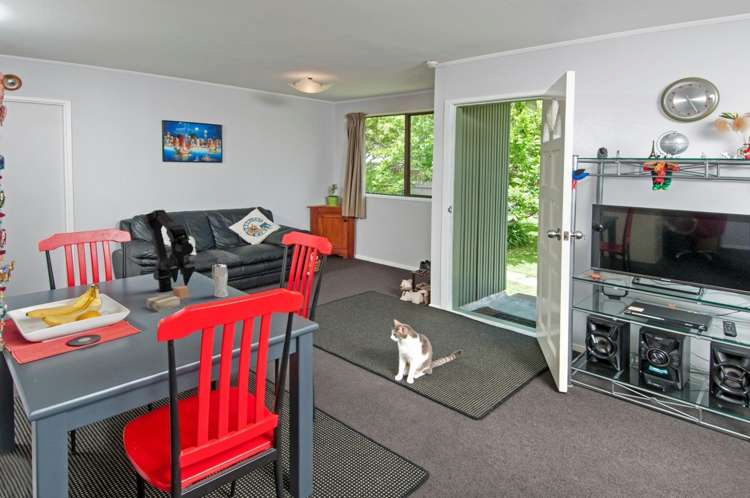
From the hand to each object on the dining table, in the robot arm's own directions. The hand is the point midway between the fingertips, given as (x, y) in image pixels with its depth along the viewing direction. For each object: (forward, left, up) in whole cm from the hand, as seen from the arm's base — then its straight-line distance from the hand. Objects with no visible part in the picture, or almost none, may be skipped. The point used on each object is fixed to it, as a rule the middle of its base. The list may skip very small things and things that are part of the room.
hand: (180, 283), depth 228 cm
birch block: (+7, -13, -7) cm, 16 cm away
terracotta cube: (0, 0, -7) cm, 7 cm away
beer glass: (+13, +13, -7) cm, 20 cm away
